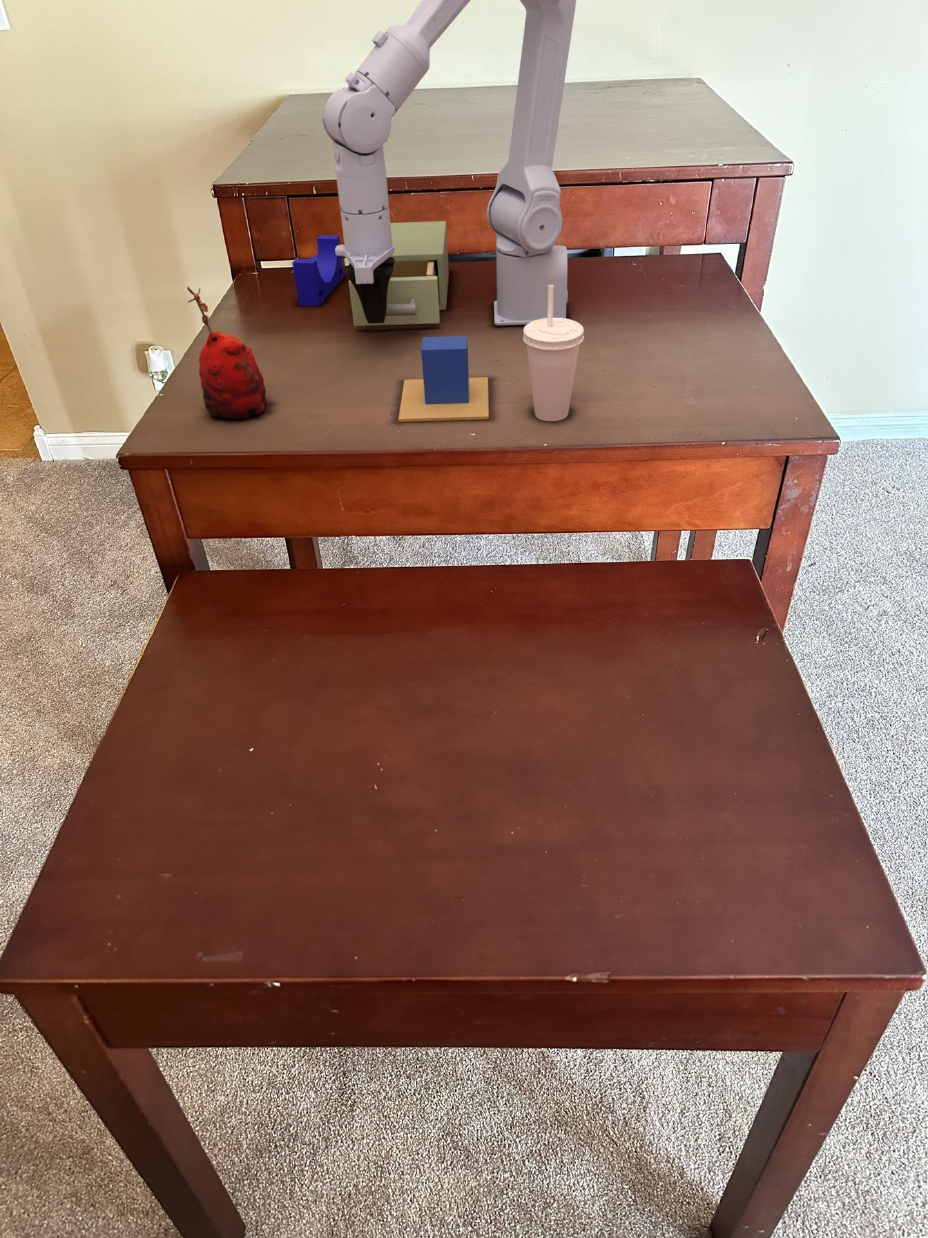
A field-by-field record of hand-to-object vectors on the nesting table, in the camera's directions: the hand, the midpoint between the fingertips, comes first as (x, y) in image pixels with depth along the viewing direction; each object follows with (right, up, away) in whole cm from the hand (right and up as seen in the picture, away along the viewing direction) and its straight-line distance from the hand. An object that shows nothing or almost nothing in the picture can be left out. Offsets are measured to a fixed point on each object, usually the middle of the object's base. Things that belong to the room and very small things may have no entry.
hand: (376, 321), depth 113 cm
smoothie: (+21, -15, -14) cm, 29 cm away
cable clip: (-11, +11, +19) cm, 24 cm away
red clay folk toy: (-15, -14, -10) cm, 23 cm away
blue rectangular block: (+9, -12, -10) cm, 18 cm away
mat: (+9, -12, -10) cm, 18 cm away
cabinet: (+2, +10, +17) cm, 20 cm away
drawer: (+2, +4, +9) cm, 10 cm away
